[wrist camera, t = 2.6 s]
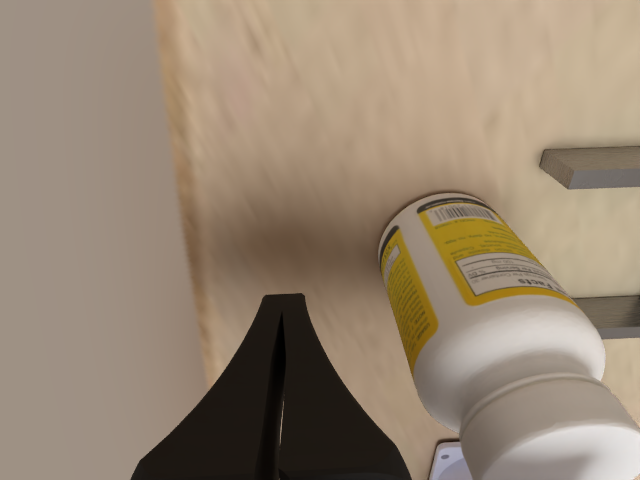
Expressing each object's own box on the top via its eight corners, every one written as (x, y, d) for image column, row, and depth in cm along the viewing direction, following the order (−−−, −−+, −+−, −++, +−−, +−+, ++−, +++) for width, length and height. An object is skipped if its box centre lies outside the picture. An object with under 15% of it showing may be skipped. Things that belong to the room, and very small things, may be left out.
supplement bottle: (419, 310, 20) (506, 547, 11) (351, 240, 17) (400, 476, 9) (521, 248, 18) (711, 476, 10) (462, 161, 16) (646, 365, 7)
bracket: (648, 305, 20) (680, 335, 19) (496, 313, 20) (514, 343, 18) (740, 142, 16) (793, 162, 14) (544, 149, 15) (574, 170, 14)
